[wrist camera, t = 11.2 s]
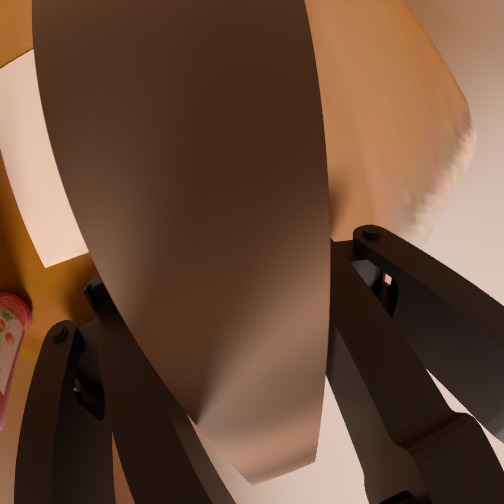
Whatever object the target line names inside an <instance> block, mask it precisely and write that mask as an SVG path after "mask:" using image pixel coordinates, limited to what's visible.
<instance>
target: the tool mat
mask: <svg viewBox="0 0 504 504" xmlns="http://www.w3.org/2000/svg"><path fill="white" fill-rule="evenodd" d="M0 149H1V153H2V157H3V161H4V164H5V168H6V171H7V175H8V178H9V181H10V184H11V187H12V190H13V193H14V196H15V199H16V202H17V205H18V207H19V210H20V213H21V215H22V218H23V220H24V223H25V225H26V228H27V230H28V232H29V235H30V237H31V239H32V242H33V244H34V246H35V248H36V250H37V252H38V254H39V257H40V259H41V261H42V263H43V265H44V267H45V268H47V267H49V266H52V265H55V264H57V263H60V262H63V261H66V260H68V259H71V258H74V257H77V256H79V255H82V254H85V253H88V252H89V251H88V249H87V246H86V244H85V242H84V239H83V237H82V235H81V232H80V230H79V227H78V225H77V223H76V220H75V217H74V215H73V212H72V210H71V207H70V204H69V202H68V199H67V196H66V193H65V190H64V187H63V184H62V181H61V178H60V175H59V172H58V169H57V165H56V162H55V159H54V155H53V152H52V148H51V144H50V140H49V136H48V132H47V128H46V124H45V120H44V115H43V110H42V105H41V100H40V94H39V88H38V82H37V75H36V67H35V58H34V49H32V50H31V51H29V52H27V53H25V54H23V55H22V56H20V57H18V58H17V59H15V60H13V61H12V62H10V63H8V64H7V65H5V66H4V67H2V68H1V69H0Z"/></svg>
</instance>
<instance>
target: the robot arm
mask: <svg viewBox="0 0 504 504" xmlns="http://www.w3.org/2000/svg"><path fill="white" fill-rule="evenodd" d="M386 274H388V275H389V276H390V277H392V280H391V284H388V283H386V282H385V275H386ZM83 292H84V294H85V296H86V298H87V299H88V301H89V303H90V305H91V306H92V308H93V310H94V311H95V318H94V319H93V320H91V321H89V322H88V323H86V324H84V325H82V326H81V327H79V328H77V326H76V325H75V323H74V322H73V321H71V320H64V321H61V322H58V323H56V325H54V326H52V328H51V329H50V330H49V331H48V332H47V334H46V336H45V339H44V341H43V344H42V347H41V350H40V353H39V357H38V360H37V363H36V366H35V370H34V373H33V377H32V380H31V384H30V388H29V392H28V396H27V400H26V405H25V409H24V414H23V419H22V425H21V430H20V436H19V443H18V451H17V459H16V469H15V486H14V504H116V501H115V491H114V477H113V456H112V432H113V436H114V440H115V444H116V448H117V451H118V455H119V458H120V461H121V465H122V468H123V471H124V474H125V477H126V480H127V483H128V486H129V489H130V492H131V494H132V497H133V499H134V502H135V504H236V503H235V501H234V500H233V498H232V496H231V495H230V493H229V492H228V490H227V488H226V487H225V485H224V483H223V482H222V480H221V478H220V477H219V475H218V473H217V471H216V470H215V468H214V466H213V464H212V463H211V461H210V459H209V457H208V456H207V453H206V451H205V450H204V448H203V446H202V444H201V442H200V440H199V438H198V436H197V434H196V432H195V430H194V428H193V426H192V424H191V422H190V420H189V418H188V415H187V413H186V412H185V410H184V409H183V408H182V407H181V405H180V404H179V403H178V401H177V400H176V399H175V397H174V396H173V395H172V393H171V392H170V391H169V389H168V388H167V386H166V385H165V384H164V382H163V381H162V379H161V378H160V376H159V375H158V374H157V372H156V371H155V369H154V368H153V366H152V365H151V363H150V362H149V360H148V359H147V357H146V356H145V354H144V353H143V351H142V349H141V348H140V346H139V345H138V343H137V341H136V340H135V338H134V336H133V335H132V333H131V332H130V330H129V328H128V326H127V325H126V323H125V321H124V320H123V318H122V316H121V314H120V312H119V311H118V309H117V307H116V305H115V303H114V302H113V300H112V298H111V296H110V294H109V292H108V290H107V288H106V286H105V284H104V282H103V280H102V278H101V276H100V274H98V275H96V276H94V277H93V278H92V279H90V280H89V281H88V282H87V284H86V285H85V286H84V289H83ZM426 369H427V370H428V371H429V372H430V373H431V374H432V375H433V376H434V377H435V378H436V379H437V380H438V381H439V382H440V383H441V384H442V385H444V387H445V388H446V389H447V390H448V391H450V393H451V394H453V396H454V397H455V398H457V400H458V401H459V402H460V403H461V404H462V405H463V406H464V407H465V408H466V409H467V410H468V411H469V412H470V413H471V414H472V415H473V416H474V417H475V418H476V419H477V420H478V421H479V422H480V423H481V424H482V425H483V426H484V427H485V428H486V429H487V430H488V431H489V432H490V433H491V434H492V435H493V436H495V437H496V438H497V439H499V440H500V441H502V442H503V443H504V306H503V305H502V304H500V303H499V302H497V301H496V300H495V299H493V298H492V297H490V296H489V295H488V294H487V293H485V292H484V291H482V290H481V289H480V288H478V287H477V286H475V285H474V284H473V283H471V282H470V281H468V280H467V279H465V278H464V277H462V276H461V275H459V274H458V273H456V272H455V271H453V270H452V269H450V268H449V267H447V266H446V265H444V264H443V263H441V262H440V261H438V260H436V259H435V258H433V257H431V256H430V255H428V254H427V253H425V252H423V251H422V250H420V249H419V248H417V247H415V246H414V245H412V244H410V243H409V242H407V241H405V240H404V239H402V238H400V237H399V236H397V235H395V234H393V233H392V232H390V231H388V230H386V229H385V228H382V227H380V226H375V225H364V226H360V227H358V228H356V229H355V230H354V232H353V240H348V241H340V242H334V241H333V240H332V239H331V238H330V307H329V331H328V348H327V363H326V376H327V378H328V381H329V383H330V386H331V389H332V391H333V394H334V396H335V399H336V401H337V404H338V406H339V409H340V411H341V414H342V416H343V419H344V421H345V424H346V427H347V430H348V432H349V435H350V437H351V440H352V443H353V445H354V448H355V451H356V453H357V456H358V458H359V461H360V464H361V467H362V469H363V472H364V485H365V491H366V495H367V498H368V501H369V504H504V471H503V469H502V467H501V464H500V463H499V460H498V458H497V456H496V454H495V452H494V450H493V448H492V446H491V444H490V443H489V441H488V439H487V437H486V435H485V433H484V431H483V430H482V428H481V426H480V425H479V423H478V422H477V421H476V419H475V418H474V417H472V416H471V415H469V414H467V413H458V412H454V411H453V410H451V408H450V407H449V406H448V404H447V403H446V401H445V399H444V398H443V396H442V394H441V393H440V391H439V389H438V388H437V386H436V384H435V383H434V381H433V380H432V378H431V376H430V375H429V373H428V372H427V370H426ZM75 382H76V383H77V388H76V391H75V390H74V385H75Z"/></svg>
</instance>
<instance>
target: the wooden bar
mask: <svg viewBox="0 0 504 504" xmlns="http://www.w3.org/2000/svg"><path fill="white" fill-rule="evenodd" d="M32 33H33V48H34V58H35V67H36V75H37V82H38V88H39V94H40V100H41V105H42V110H43V115H44V120H45V124H46V128H47V132H48V136H49V140H50V144H51V148H52V152H53V155H54V159H55V162H56V165H57V169H58V172H59V175H60V178H61V181H62V184H63V187H64V190H65V193H66V196H67V199H68V202H69V204H70V207H71V210H72V212H73V215H74V217H75V220H76V223H77V225H78V227H79V230H80V232H81V235H82V237H83V239H84V242H85V244H86V246H87V249H88V251H89V253H90V255H91V257H92V260H93V262H94V264H95V266H96V268H97V270H98V272H99V274H100V276H101V278H102V280H103V282H104V284H105V286H106V288H107V290H108V292H109V294H110V296H111V298H112V300H113V302H114V303H115V305H116V307H117V309H118V311H119V312H120V314H121V316H122V318H123V320H124V321H125V323H126V325H127V326H128V328H129V330H130V332H131V333H132V335H133V336H134V338H135V340H136V341H137V343H138V345H139V346H140V348H141V349H142V351H143V353H144V354H145V356H146V357H147V359H148V360H149V362H150V363H151V365H152V366H153V368H154V369H155V371H156V372H157V374H158V375H159V376H160V378H161V379H162V381H163V382H164V384H165V385H166V386H167V388H168V389H169V391H170V392H171V393H172V395H173V396H174V397H175V399H176V400H177V401H178V403H179V404H180V405H181V407H182V408H183V409H184V410H185V412H186V413H187V414H188V416H189V417H190V418H191V419H192V420H193V422H194V423H195V424H196V425H197V426H198V428H199V429H200V430H201V431H202V432H203V434H204V435H205V436H206V437H207V438H208V440H209V441H210V442H211V443H212V444H213V445H214V446H215V447H216V449H217V450H218V451H219V452H220V453H221V454H222V455H223V456H224V457H225V458H226V459H227V460H228V462H229V463H230V464H231V465H232V466H233V467H234V468H235V469H236V470H237V471H238V472H239V473H240V474H241V475H242V476H243V477H244V478H245V479H246V480H247V481H248V482H249V483H250V484H251V485H255V484H258V483H261V482H264V481H267V480H270V479H273V478H275V477H278V476H281V475H284V474H286V473H289V472H292V471H294V470H296V469H299V468H302V467H304V466H306V465H308V464H311V463H313V462H315V457H316V451H317V445H318V438H319V430H320V423H321V414H322V405H323V396H324V386H325V375H326V363H327V348H328V331H329V307H330V213H329V189H328V172H327V157H326V145H325V133H324V123H323V114H322V105H321V96H320V88H319V81H318V74H317V67H316V61H315V54H314V48H313V42H312V37H311V31H310V26H309V21H308V16H307V11H306V6H305V2H304V0H32Z"/></svg>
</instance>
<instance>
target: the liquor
mask: <svg viewBox="0 0 504 504" xmlns="http://www.w3.org/2000/svg"><path fill="white" fill-rule="evenodd" d="M31 325H32V314H31V311H30V309H29V307H28V306H27V305H26V303H25V302H24V301H23V300H22V299H21V298H20V297H18V296H17V295H15V294H12V293H9V292H2V293H0V431H2V430H3V429H4V422H5V415H6V409H7V403H8V398H9V393H10V388H11V382H12V377H13V373H14V368H15V364H16V361H17V357H18V353H19V350H20V347H21V344H22V341H23V338H24V335H25V332H26V330H27V329H28V328H30V326H31Z"/></svg>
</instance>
